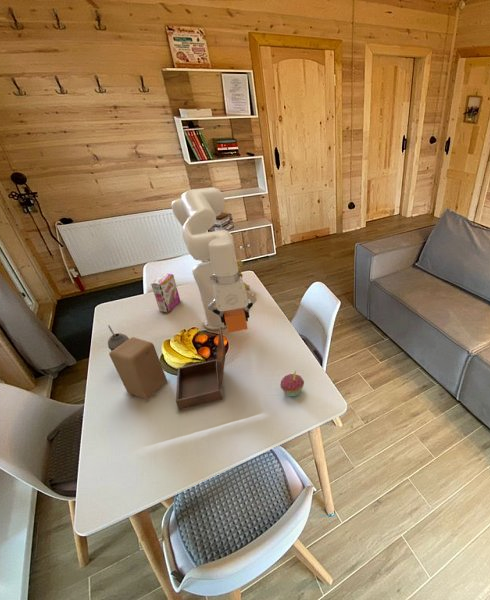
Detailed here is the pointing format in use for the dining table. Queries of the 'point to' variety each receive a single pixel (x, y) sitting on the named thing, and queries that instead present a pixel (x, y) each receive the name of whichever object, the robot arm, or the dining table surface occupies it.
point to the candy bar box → (166, 292)
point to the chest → (197, 385)
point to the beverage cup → (116, 340)
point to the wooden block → (138, 367)
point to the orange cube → (235, 320)
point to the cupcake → (292, 384)
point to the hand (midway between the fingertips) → (236, 321)
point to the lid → (220, 358)
